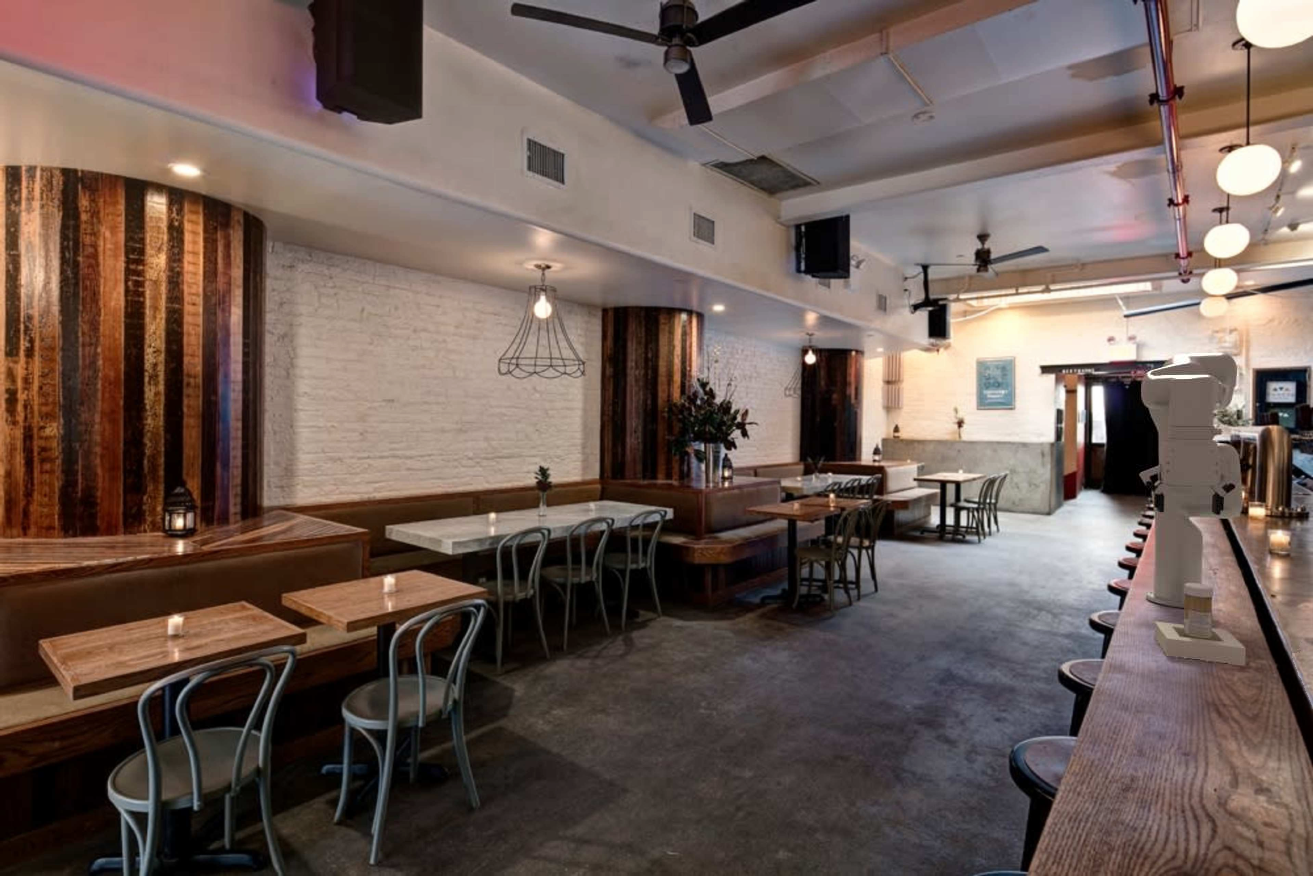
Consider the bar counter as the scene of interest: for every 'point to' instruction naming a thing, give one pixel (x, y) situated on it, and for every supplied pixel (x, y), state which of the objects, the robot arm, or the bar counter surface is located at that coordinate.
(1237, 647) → the collar
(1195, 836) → the bar counter surface
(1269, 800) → the bar counter surface
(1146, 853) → the bar counter surface
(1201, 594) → the sprinkles bottle
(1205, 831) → the bar counter surface
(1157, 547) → the robot arm
